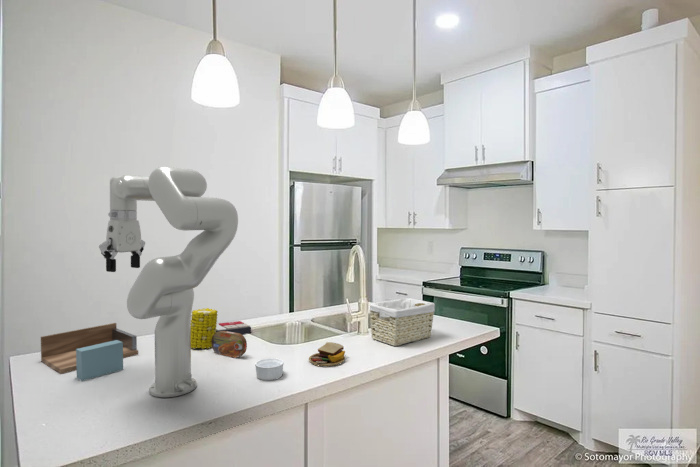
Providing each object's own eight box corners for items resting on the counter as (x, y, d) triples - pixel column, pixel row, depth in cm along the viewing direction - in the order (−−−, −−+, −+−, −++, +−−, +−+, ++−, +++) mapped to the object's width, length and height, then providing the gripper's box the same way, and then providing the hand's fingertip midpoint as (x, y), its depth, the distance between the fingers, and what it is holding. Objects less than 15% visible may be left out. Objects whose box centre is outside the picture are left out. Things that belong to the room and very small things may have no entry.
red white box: (251, 325, 179) (217, 329, 169) (251, 335, 179) (216, 339, 169) (240, 320, 187) (207, 323, 178) (240, 329, 187) (206, 333, 178)
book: (123, 369, 136) (122, 342, 135) (81, 381, 126) (81, 351, 126) (117, 366, 138) (117, 339, 138) (76, 377, 129) (76, 349, 128)
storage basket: (407, 329, 186) (408, 296, 186) (436, 337, 174) (437, 302, 173) (367, 339, 171) (367, 303, 170) (395, 349, 159) (396, 310, 158)
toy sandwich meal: (301, 362, 144) (301, 348, 144) (328, 352, 155) (328, 339, 154) (327, 371, 136) (327, 356, 136) (354, 360, 147) (354, 346, 146)
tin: (210, 353, 152) (210, 330, 152) (217, 350, 155) (217, 328, 155) (242, 360, 145) (242, 336, 145) (248, 357, 148) (248, 333, 148)
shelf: (138, 354, 150) (137, 330, 150) (60, 374, 131) (60, 347, 131) (115, 344, 161) (115, 322, 161) (41, 361, 142) (40, 336, 142)
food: (184, 351, 159) (209, 346, 166) (200, 350, 151) (225, 345, 159) (181, 310, 161) (205, 308, 168) (197, 308, 153) (221, 305, 161)
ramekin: (253, 372, 134) (253, 359, 134) (280, 369, 137) (280, 356, 137) (257, 383, 126) (257, 369, 125) (286, 379, 129) (286, 365, 129)
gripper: (110, 216, 123) (110, 274, 124) (153, 216, 140) (153, 267, 141) (90, 215, 125) (90, 272, 126) (134, 215, 142) (134, 265, 143)
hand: (123, 269), depth 134 cm, fingers open, 9 cm apart
